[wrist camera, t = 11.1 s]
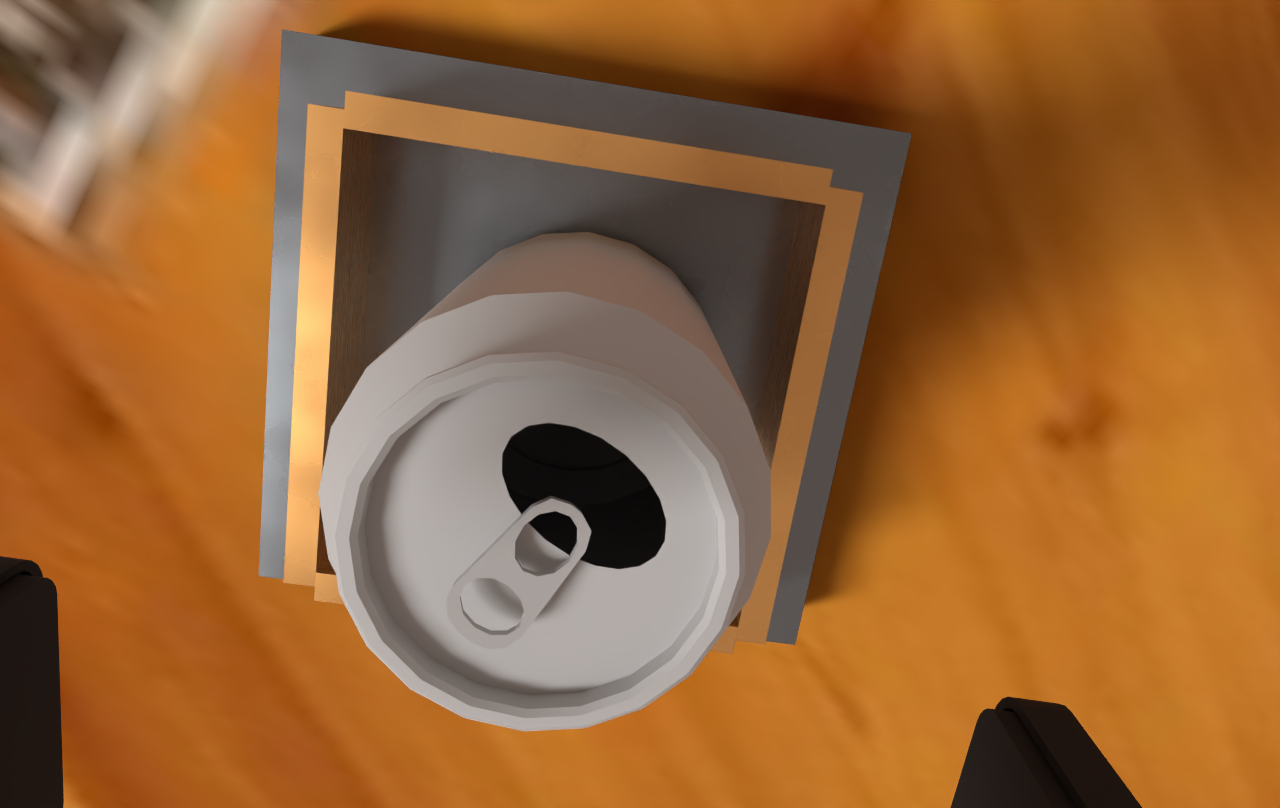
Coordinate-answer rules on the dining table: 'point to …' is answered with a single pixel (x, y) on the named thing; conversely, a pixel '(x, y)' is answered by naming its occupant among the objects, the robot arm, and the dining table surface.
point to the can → (548, 490)
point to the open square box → (565, 203)
